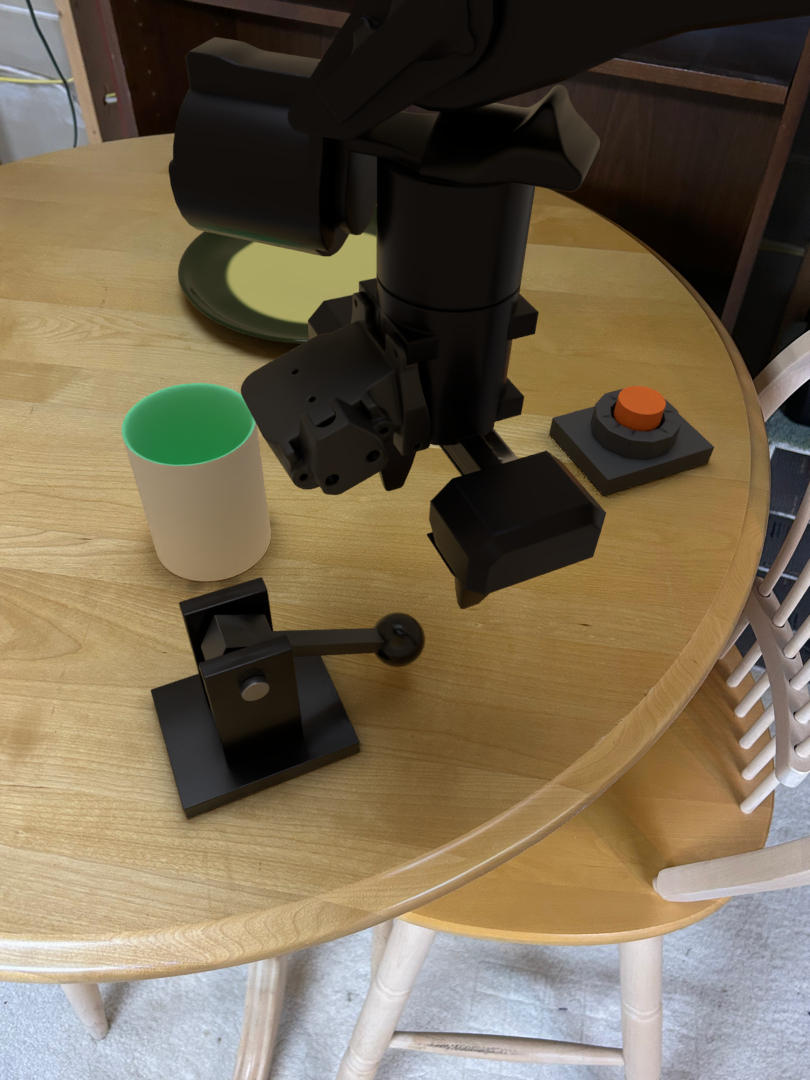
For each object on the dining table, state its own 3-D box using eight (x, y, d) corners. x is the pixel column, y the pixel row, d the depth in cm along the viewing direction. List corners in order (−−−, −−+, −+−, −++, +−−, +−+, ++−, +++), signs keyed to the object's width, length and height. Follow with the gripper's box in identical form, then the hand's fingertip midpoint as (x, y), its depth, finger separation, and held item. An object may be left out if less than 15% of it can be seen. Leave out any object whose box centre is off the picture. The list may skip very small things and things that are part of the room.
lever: (397, 636, 50) (419, 600, 48) (419, 676, 48) (443, 640, 46) (195, 643, 42) (213, 601, 40) (211, 692, 40) (231, 650, 38)
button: (669, 425, 62) (675, 407, 61) (631, 436, 61) (636, 418, 60) (642, 399, 64) (647, 381, 63) (604, 409, 63) (609, 391, 62)
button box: (708, 463, 64) (722, 429, 62) (603, 496, 61) (613, 461, 59) (648, 405, 69) (659, 371, 66) (548, 433, 66) (556, 399, 63)
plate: (482, 360, 73) (485, 336, 71) (168, 370, 70) (162, 346, 68) (441, 217, 92) (443, 196, 90) (193, 221, 89) (189, 199, 87)
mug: (147, 473, 61) (116, 358, 54) (253, 456, 63) (237, 342, 55) (159, 591, 53) (124, 475, 46) (280, 568, 55) (265, 453, 48)
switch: (312, 646, 51) (303, 541, 44) (360, 752, 46) (358, 653, 39) (154, 700, 48) (116, 597, 41) (186, 819, 43) (150, 726, 36)
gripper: (186, 206, 35) (231, 473, 46) (346, 475, 23) (355, 741, 35) (418, 168, 38) (407, 426, 50) (657, 387, 27) (571, 656, 38)
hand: (428, 542), depth 43 cm, fingers open, 9 cm apart
